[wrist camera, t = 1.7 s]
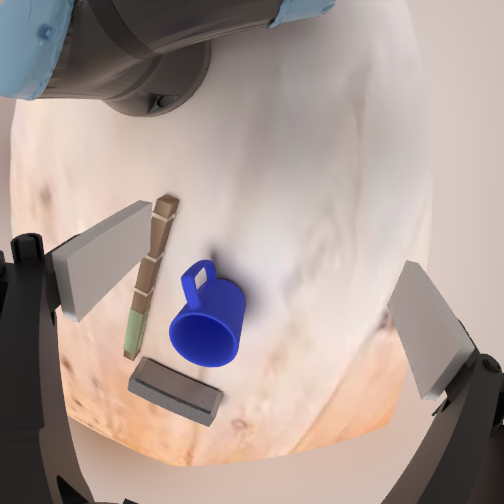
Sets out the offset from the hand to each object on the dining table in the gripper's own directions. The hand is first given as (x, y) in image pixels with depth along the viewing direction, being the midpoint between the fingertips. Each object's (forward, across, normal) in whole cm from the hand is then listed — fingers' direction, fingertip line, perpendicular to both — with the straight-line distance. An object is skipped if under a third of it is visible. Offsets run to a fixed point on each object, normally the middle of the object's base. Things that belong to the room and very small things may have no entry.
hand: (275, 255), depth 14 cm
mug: (+21, -6, -16) cm, 27 cm away
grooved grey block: (+21, -11, -39) cm, 45 cm away
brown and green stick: (+21, -17, -20) cm, 34 cm away
